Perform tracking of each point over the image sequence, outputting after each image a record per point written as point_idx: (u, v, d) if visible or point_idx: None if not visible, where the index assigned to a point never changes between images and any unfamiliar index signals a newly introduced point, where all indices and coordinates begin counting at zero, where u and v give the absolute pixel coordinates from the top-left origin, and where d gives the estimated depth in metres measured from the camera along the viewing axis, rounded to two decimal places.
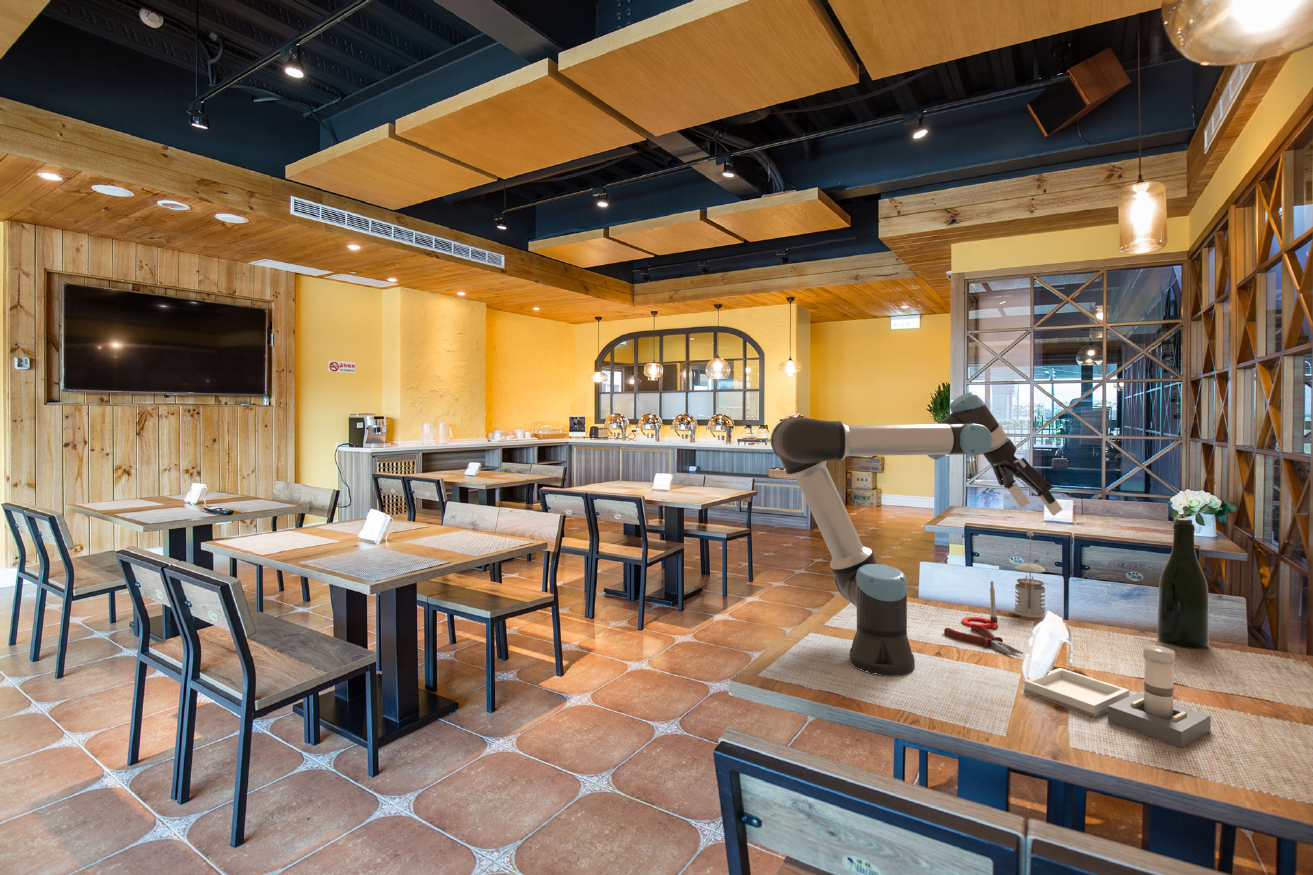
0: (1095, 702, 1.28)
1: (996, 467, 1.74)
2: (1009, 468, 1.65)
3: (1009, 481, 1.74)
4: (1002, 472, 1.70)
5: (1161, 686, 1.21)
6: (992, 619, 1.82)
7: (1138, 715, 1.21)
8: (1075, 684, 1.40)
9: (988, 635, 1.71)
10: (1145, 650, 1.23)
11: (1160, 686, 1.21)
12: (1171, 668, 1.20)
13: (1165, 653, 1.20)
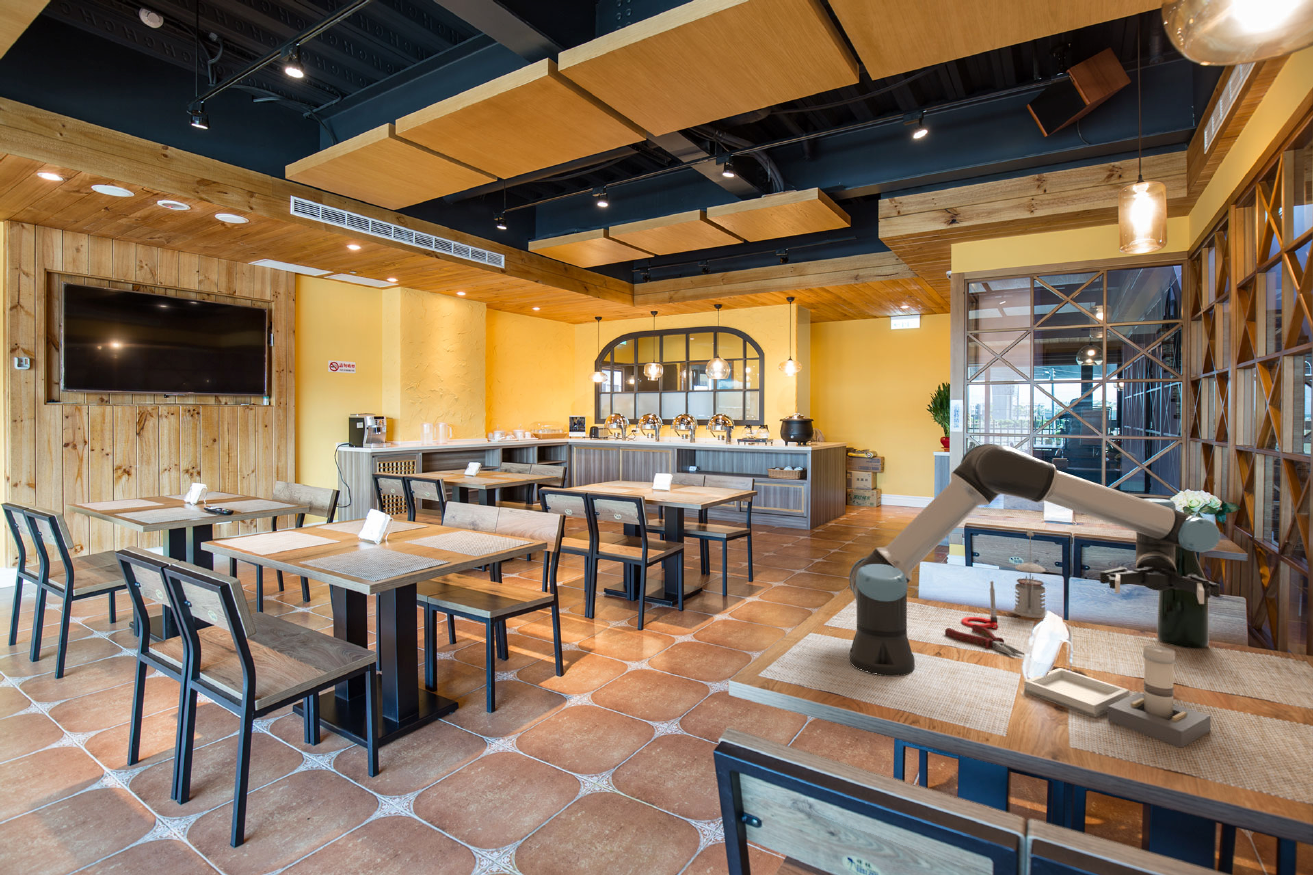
0: (1095, 702, 1.28)
1: (1123, 570, 1.44)
2: None
3: (1123, 578, 1.40)
4: (1142, 569, 1.42)
5: (1161, 686, 1.21)
6: (992, 619, 1.82)
7: (1138, 715, 1.21)
8: (1075, 684, 1.40)
9: (989, 635, 1.70)
10: (1145, 650, 1.23)
11: (1160, 686, 1.21)
12: (1171, 668, 1.20)
13: (1165, 653, 1.20)
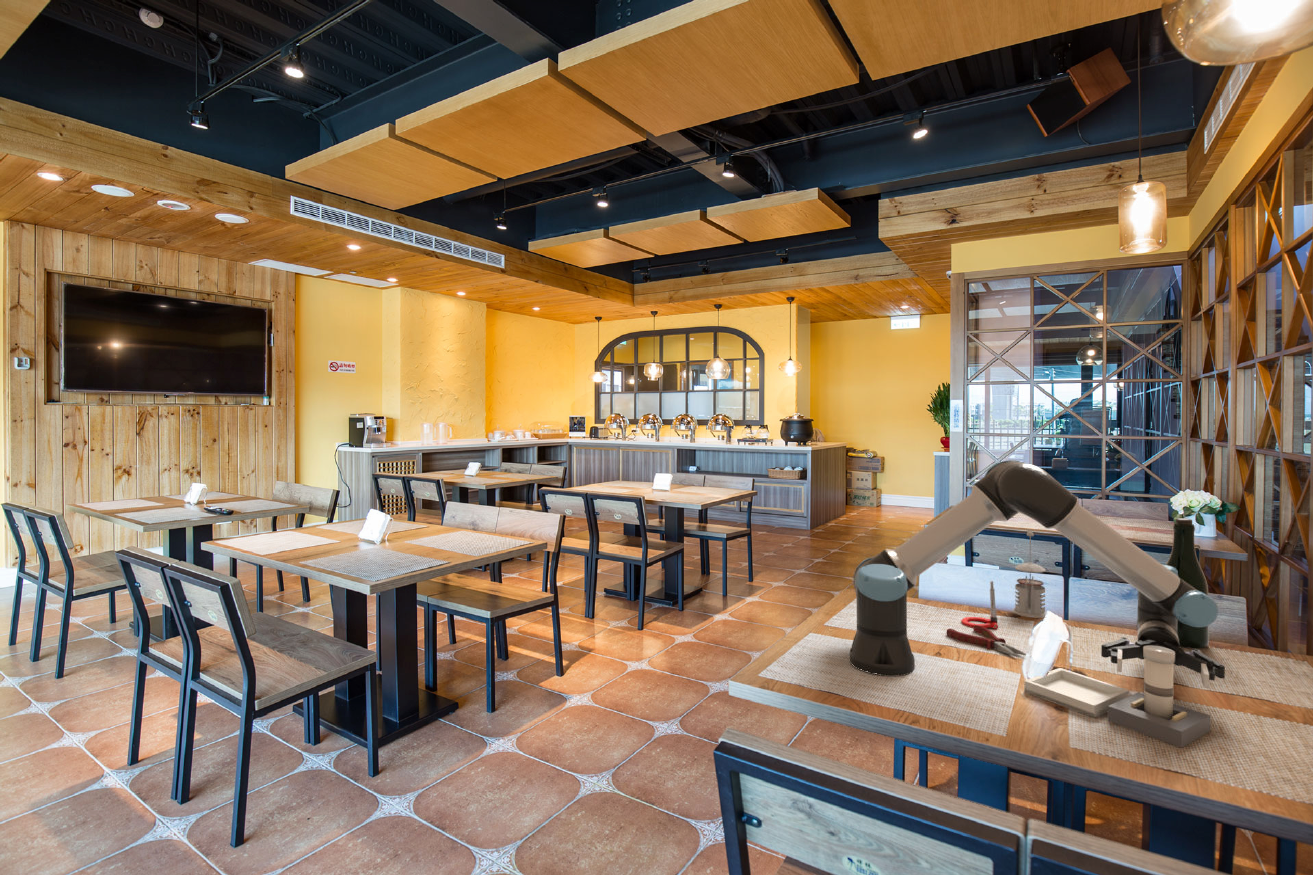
0: (1095, 702, 1.28)
1: (1125, 642, 1.41)
2: None
3: (1125, 652, 1.37)
4: (1145, 643, 1.38)
5: (1161, 686, 1.21)
6: (992, 619, 1.82)
7: (1138, 715, 1.21)
8: (1075, 684, 1.40)
9: (991, 636, 1.70)
10: (1145, 650, 1.23)
11: (1160, 686, 1.21)
12: (1171, 668, 1.20)
13: (1165, 653, 1.20)
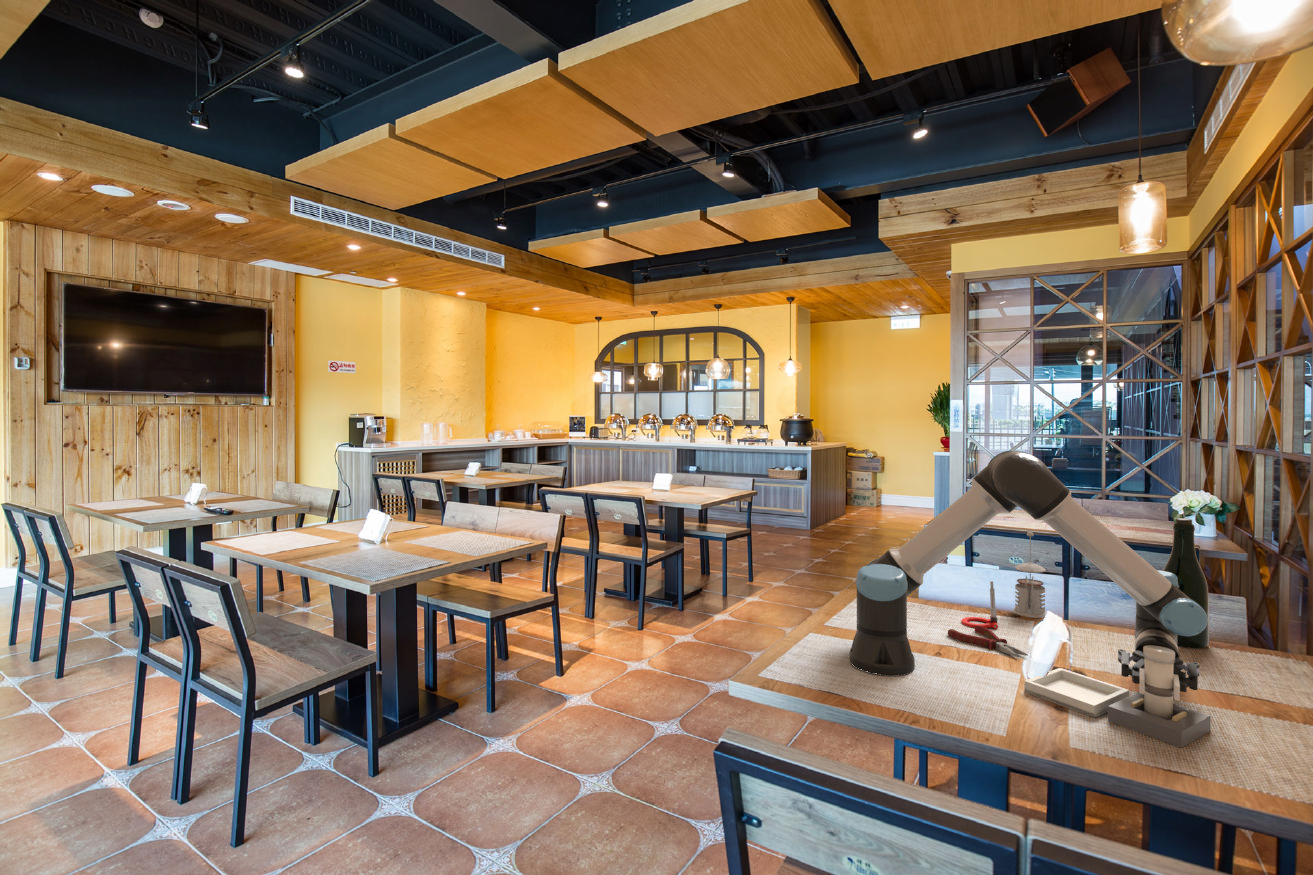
0: (1095, 702, 1.28)
1: None
2: None
3: None
4: None
5: (1161, 686, 1.21)
6: (992, 619, 1.82)
7: (1138, 715, 1.21)
8: (1075, 684, 1.40)
9: (992, 637, 1.69)
10: (1145, 650, 1.23)
11: (1160, 686, 1.21)
12: (1171, 668, 1.20)
13: (1165, 653, 1.20)
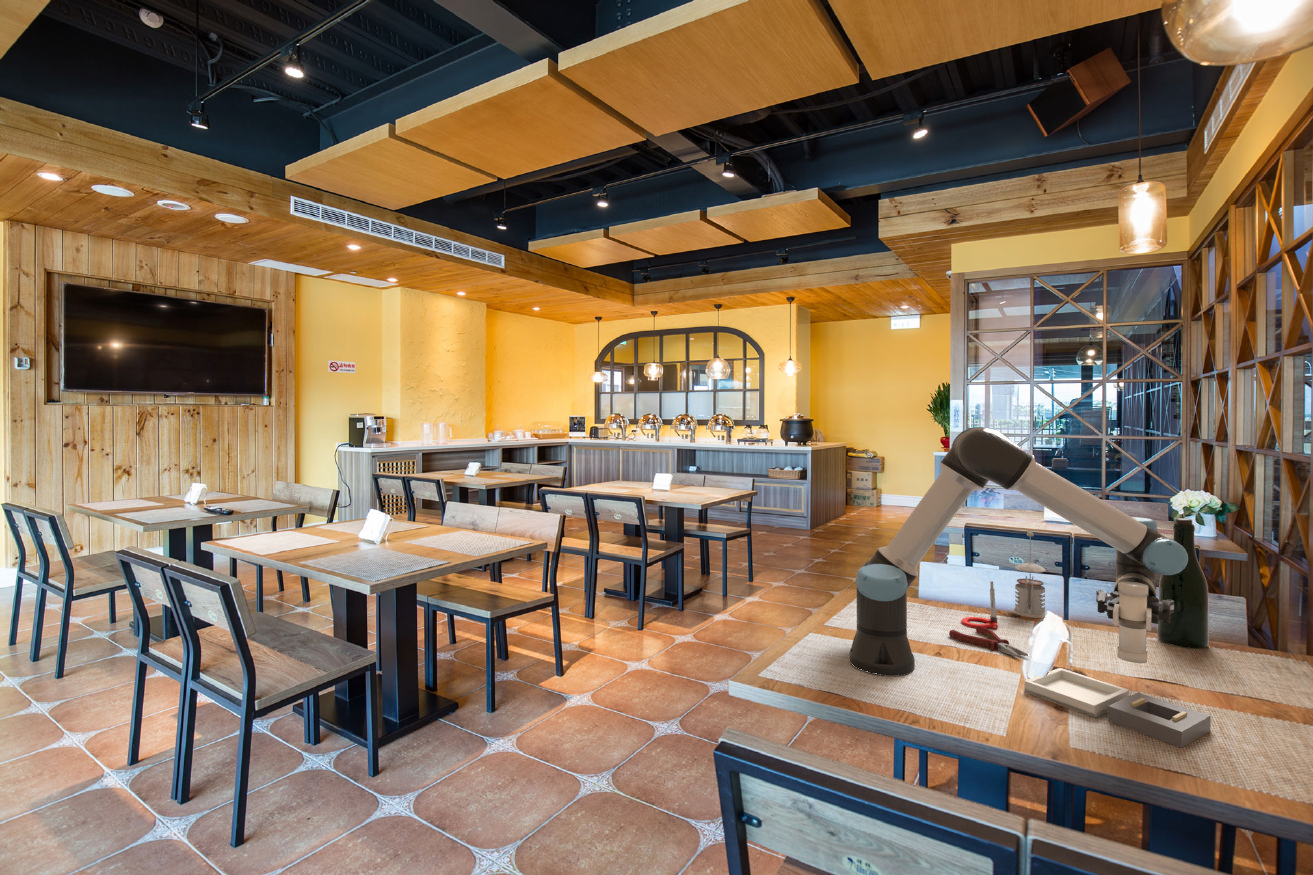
0: (1095, 702, 1.28)
1: (1105, 595, 1.37)
2: None
3: None
4: None
5: (1135, 619, 1.24)
6: (992, 619, 1.82)
7: (1138, 715, 1.21)
8: (1075, 684, 1.40)
9: (994, 637, 1.69)
10: (1120, 585, 1.26)
11: (1133, 619, 1.24)
12: (1144, 601, 1.24)
13: (1139, 586, 1.24)
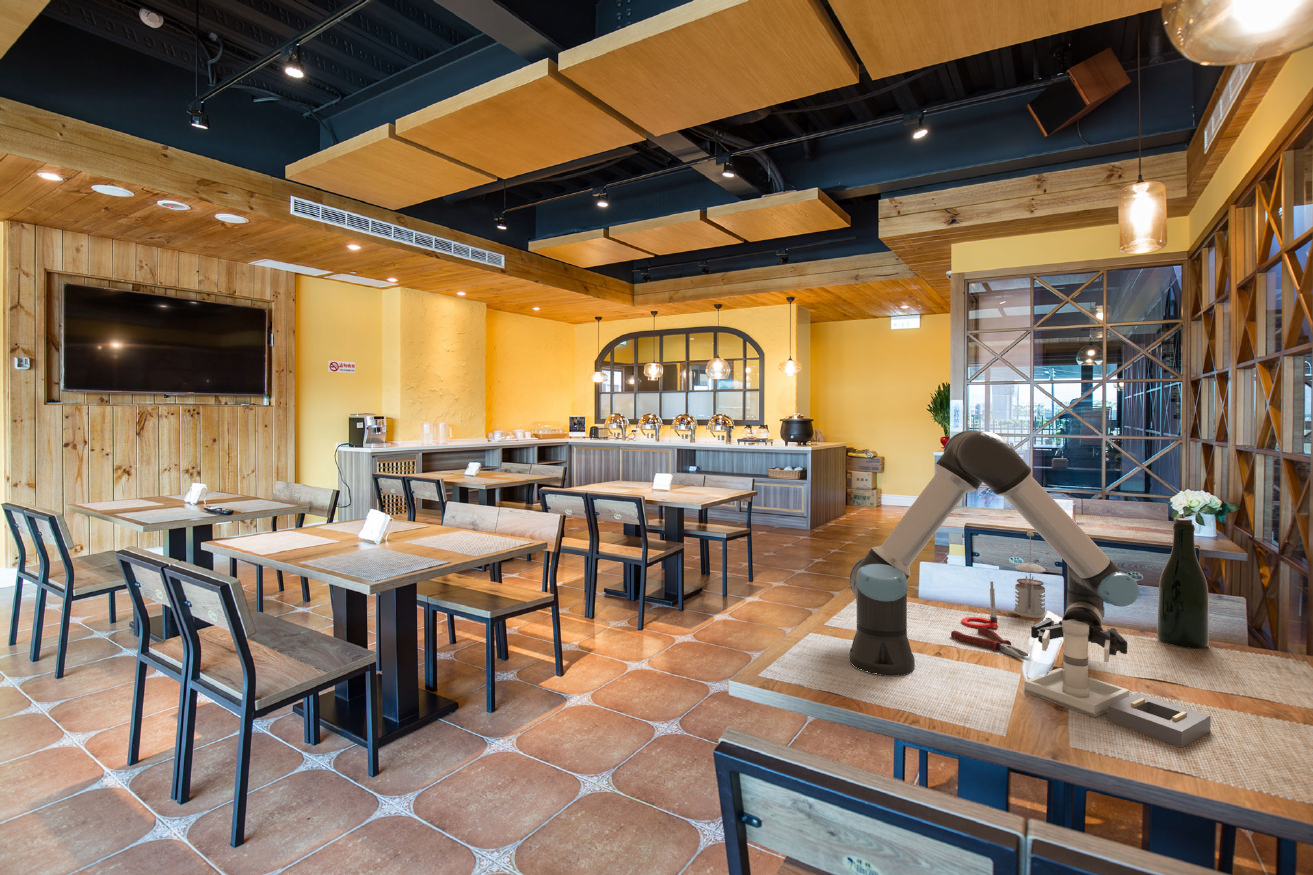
0: (1095, 702, 1.28)
1: (1050, 623, 1.47)
2: None
3: (1052, 632, 1.42)
4: None
5: (1077, 657, 1.34)
6: (992, 619, 1.82)
7: (1138, 715, 1.21)
8: None
9: (996, 638, 1.68)
10: (1063, 625, 1.36)
11: (1076, 657, 1.34)
12: (1085, 640, 1.33)
13: (1080, 627, 1.33)
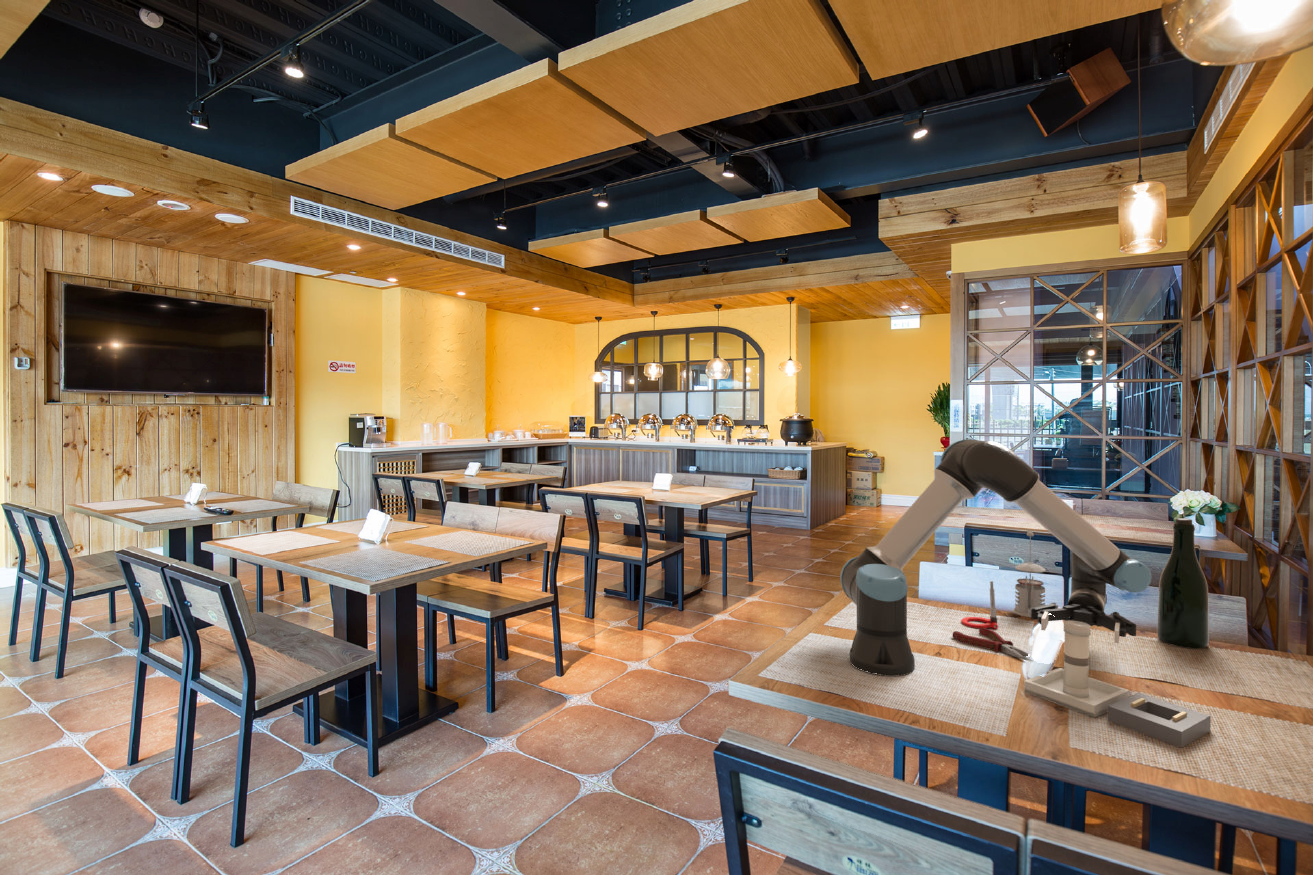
0: (1095, 702, 1.28)
1: (1054, 607, 1.55)
2: None
3: (1052, 615, 1.50)
4: (1070, 606, 1.52)
5: (1078, 656, 1.34)
6: (992, 619, 1.82)
7: (1138, 715, 1.21)
8: None
9: (998, 639, 1.68)
10: (1065, 624, 1.36)
11: (1077, 657, 1.34)
12: (1086, 640, 1.33)
13: (1081, 626, 1.33)
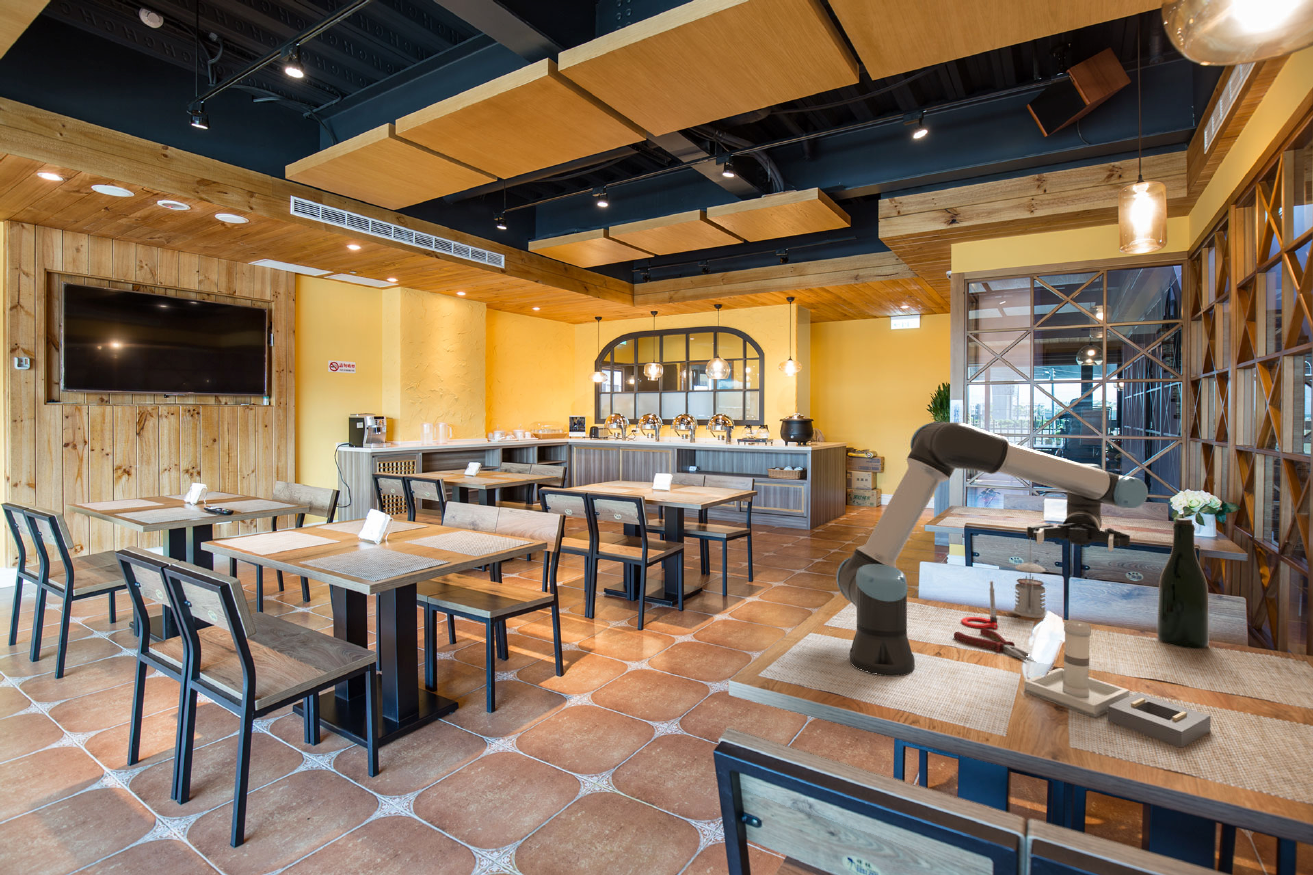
0: (1095, 702, 1.28)
1: (1049, 526, 1.57)
2: None
3: (1047, 532, 1.53)
4: (1066, 525, 1.55)
5: (1078, 656, 1.34)
6: (992, 619, 1.82)
7: (1138, 715, 1.21)
8: None
9: (999, 639, 1.67)
10: (1065, 624, 1.36)
11: (1077, 657, 1.34)
12: (1087, 640, 1.33)
13: (1082, 626, 1.33)
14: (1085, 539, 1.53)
